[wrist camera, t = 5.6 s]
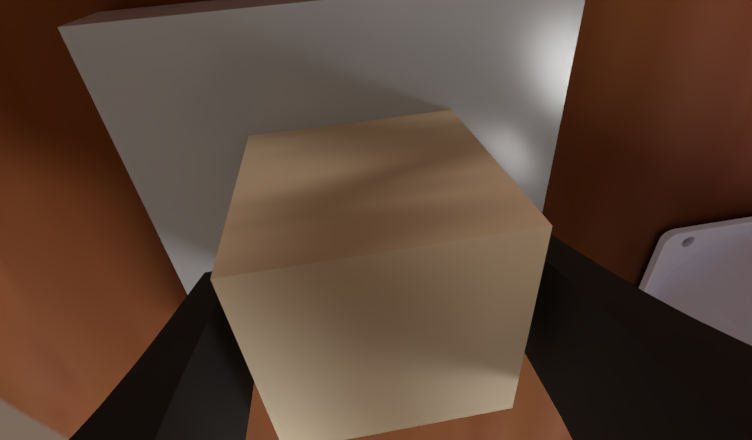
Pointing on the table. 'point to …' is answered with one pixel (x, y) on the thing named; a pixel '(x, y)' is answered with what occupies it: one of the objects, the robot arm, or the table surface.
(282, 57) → the plate
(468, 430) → the table surface
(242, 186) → the maple cube
